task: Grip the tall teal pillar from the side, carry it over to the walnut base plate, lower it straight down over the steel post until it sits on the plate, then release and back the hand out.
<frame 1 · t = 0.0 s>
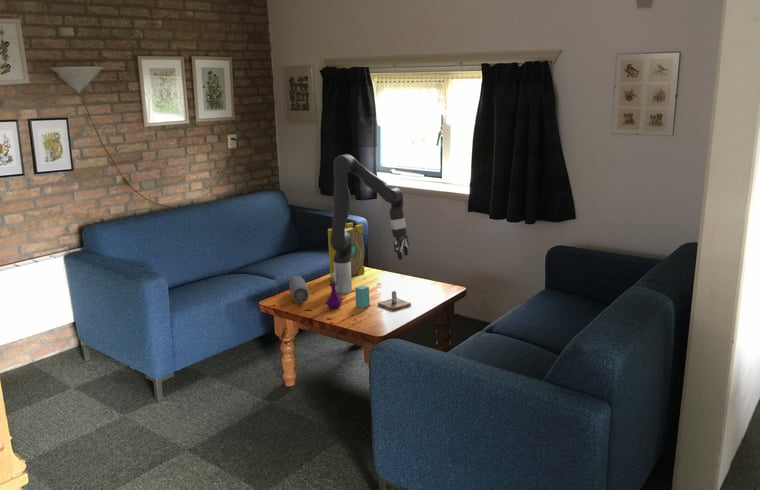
hand: (403, 257, 341), 22 cm above the table, tool pointing down, fingers open, 8 cm apart
bluetooth speaker: (299, 298, 351), on the table
decorative book: (347, 275, 390), on the table
walnut base plate: (394, 305, 335), on the table
tall teal pillar: (362, 305, 337), on the table
purple potion bottle: (334, 307, 336), on the table
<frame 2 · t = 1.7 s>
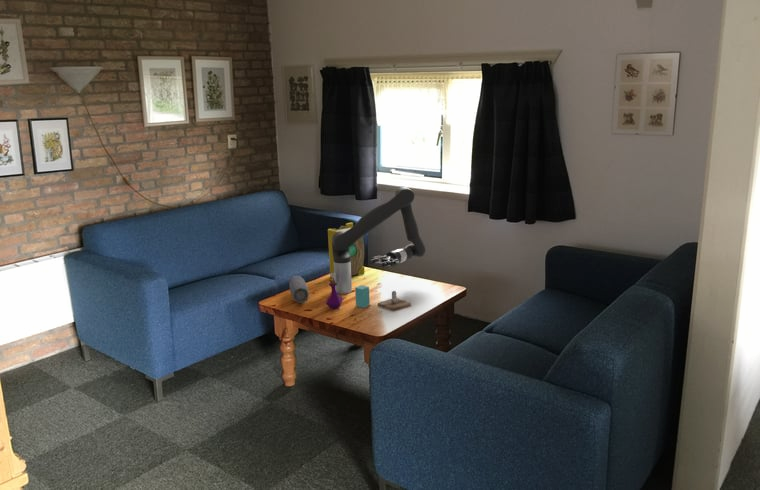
hand: (376, 263, 340), 20 cm above the table, tool horizontal, fingers open, 8 cm apart
nothing on the table moved.
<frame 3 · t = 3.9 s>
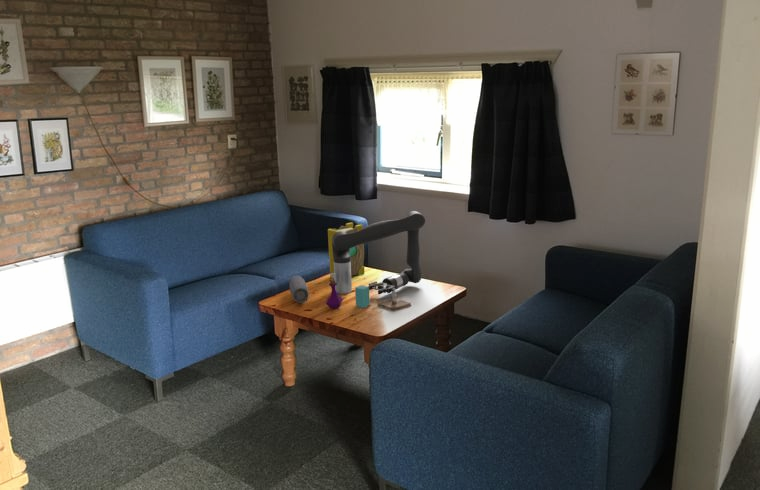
hand: (372, 290, 341), 6 cm above the table, tool horizontal, fingers open, 8 cm apart
nothing on the table moved.
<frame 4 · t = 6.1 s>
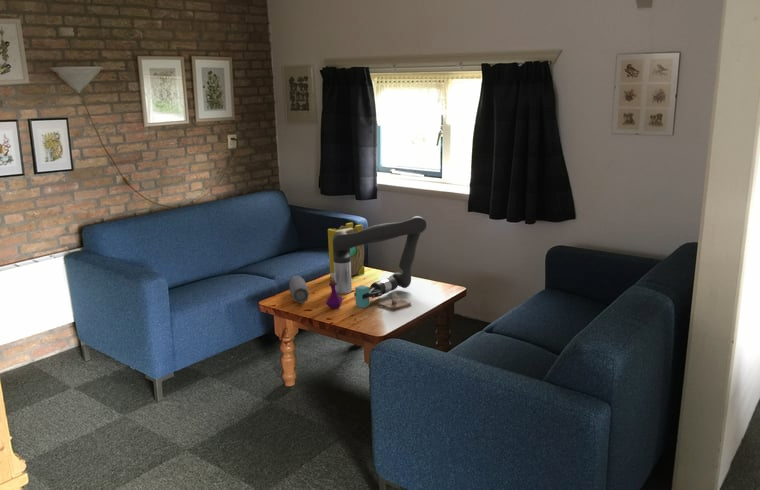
hand: (358, 295, 333), 6 cm above the table, tool horizontal, fingers closed on tall teal pillar, 5 cm apart
tall teal pillar: (362, 305, 337), on the table, touching gripper
everything else where it was.
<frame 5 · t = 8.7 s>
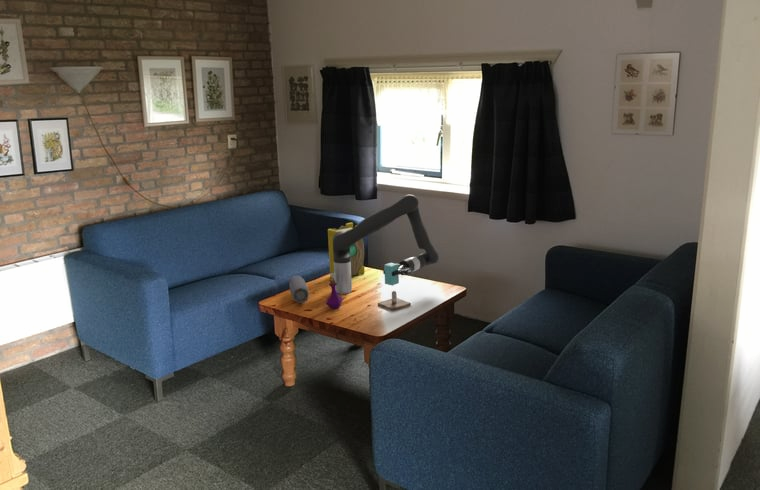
hand: (388, 273, 329), 18 cm above the table, tool horizontal, fingers closed on tall teal pillar, 5 cm apart
tall teal pillar: (391, 283, 333), point 12 cm above the table, touching gripper
everything else where it was.
when the fingers open (9 cm above the table, at t = 11.5 s): tall teal pillar drops 1 cm, resting on walnut base plate.
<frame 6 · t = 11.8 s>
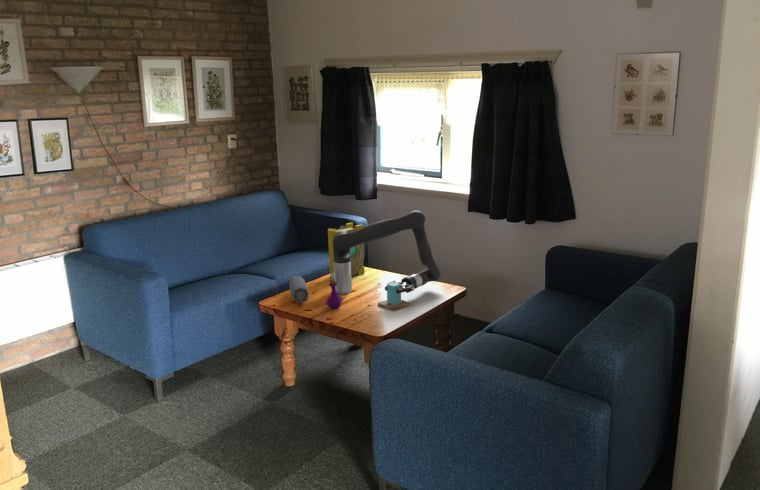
hand: (391, 290, 332), 9 cm above the table, tool horizontal, fingers open, 7 cm apart
tall teal pillar: (394, 302, 335), point 2 cm above the table, touching walnut base plate
everything else where it was.
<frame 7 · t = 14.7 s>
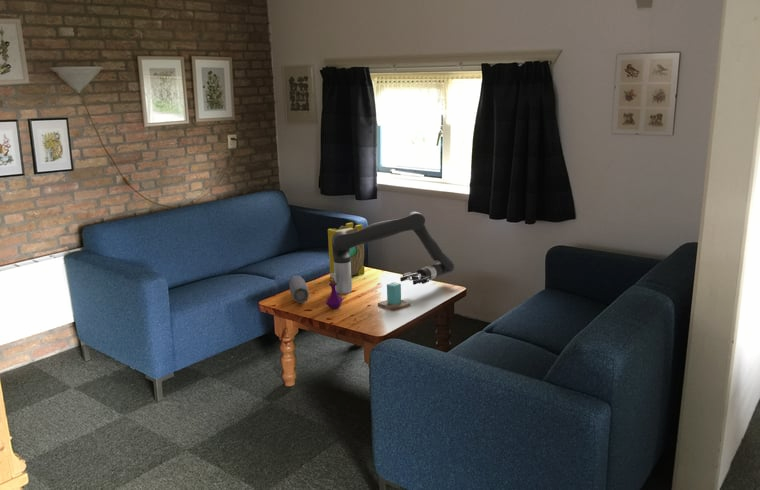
hand: (407, 281, 341), 10 cm above the table, tool horizontal, fingers open, 8 cm apart
nothing on the table moved.
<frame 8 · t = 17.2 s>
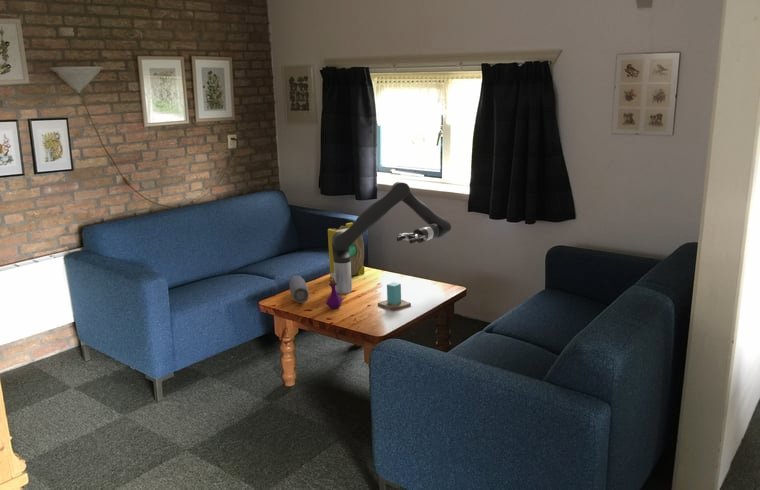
hand: (403, 240, 336), 32 cm above the table, tool horizontal, fingers open, 8 cm apart
nothing on the table moved.
at the end: tall teal pillar 0.0 cm off-centre on the walnut base plate, point 1.5 cm above the walnut base plate's base; tall teal pillar tilted 0°; the gripper is holding nothing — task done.
